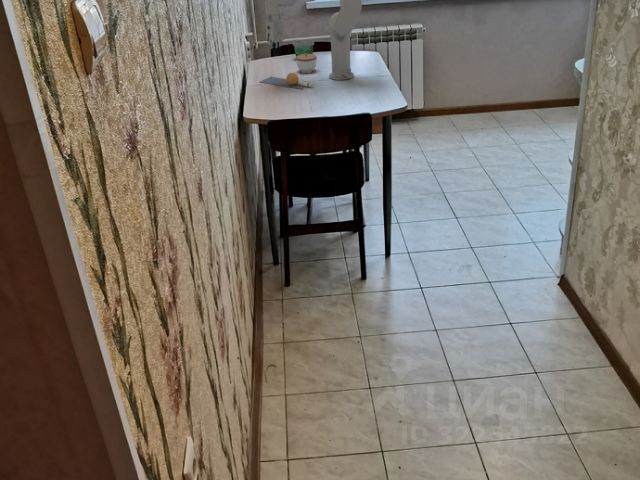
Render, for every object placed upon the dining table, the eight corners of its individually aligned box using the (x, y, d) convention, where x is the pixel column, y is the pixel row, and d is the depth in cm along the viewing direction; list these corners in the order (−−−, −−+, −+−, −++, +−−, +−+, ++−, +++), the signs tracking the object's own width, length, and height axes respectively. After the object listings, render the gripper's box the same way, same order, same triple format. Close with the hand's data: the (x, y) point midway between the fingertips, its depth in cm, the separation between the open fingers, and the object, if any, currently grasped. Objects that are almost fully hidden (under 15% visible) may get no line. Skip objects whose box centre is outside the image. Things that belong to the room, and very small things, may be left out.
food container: (290, 60, 370) (289, 42, 365) (294, 57, 375) (293, 39, 370) (311, 61, 366) (310, 43, 361) (315, 58, 371) (314, 40, 366)
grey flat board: (259, 82, 337) (258, 81, 337) (270, 76, 345) (270, 76, 344) (300, 89, 325) (300, 88, 324) (312, 83, 332) (312, 83, 331)
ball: (292, 68, 328) (286, 75, 333) (288, 75, 325) (282, 82, 329) (302, 75, 330) (296, 82, 334) (298, 82, 326) (292, 89, 331)
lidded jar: (314, 74, 345) (314, 56, 341) (294, 74, 347) (293, 56, 343) (319, 68, 354) (318, 50, 350) (299, 68, 356) (298, 50, 352)
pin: (299, 85, 331) (313, 87, 327) (296, 85, 329) (310, 87, 325) (299, 81, 330) (313, 83, 326) (297, 80, 329) (311, 83, 324)
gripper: (270, 21, 313) (273, 60, 323) (289, 14, 324) (291, 52, 333) (258, 19, 317) (261, 58, 326) (277, 13, 328) (279, 50, 337)
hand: (276, 55), depth 330 cm, fingers closed
